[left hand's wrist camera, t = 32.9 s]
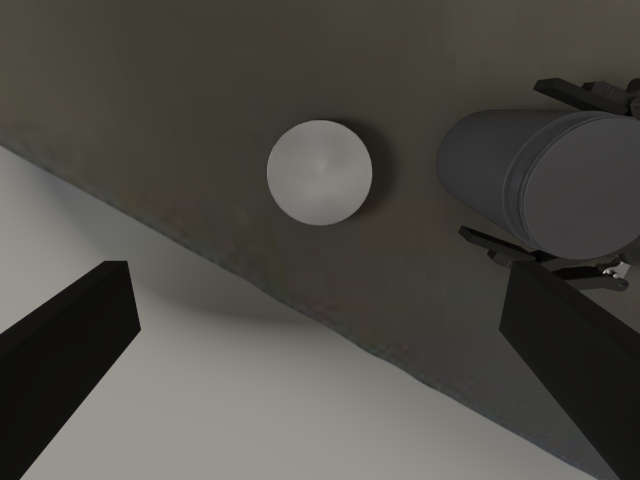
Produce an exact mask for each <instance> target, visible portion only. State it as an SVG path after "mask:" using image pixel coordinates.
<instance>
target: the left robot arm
mask: <svg viewBox="0 0 640 480" xmlns="http://www.w3.org/2000/svg"><path fill="white" fill-rule="evenodd" d="M140 331H141V327H140V322H139V317H138V313H137V307H136V303H135V297H134V293H133V287H132V283H131V278H130V273H129V268H128V263H127V261H104V262H102V263H101V264H100V265H98V266H97V267H95V268H94V269H92V270H91V271H89V272H88V273H87V274H85V275H84V276H82V277H81V278H80V279H78V280H77V281H75V282H74V283H72V284H71V285H70V286H68V287H67V288H65V289H64V290H62V291H61V292H60V293H58V294H57V295H55V296H54V297H52V298H51V299H50V300H48V301H47V302H45V303H44V304H43V305H41V306H40V307H38V308H37V309H35V310H34V311H33V312H31V313H30V314H28V315H27V316H25V317H24V318H23V319H21V320H20V321H18V322H17V323H15V324H14V325H13V326H11V327H10V328H8V329H7V330H6V331H4V332H3V333H1V334H0V480H20V478H21V477H22V476H23V475H24V474H25V472H26V471H27V470H28V469H29V467H30V466H31V465H32V464H33V462H34V461H35V460H36V459H37V458H38V456H39V455H40V454H41V453H42V451H43V450H44V449H45V448H46V446H47V445H48V444H49V443H50V442H51V440H52V439H53V438H54V437H55V435H56V434H57V433H58V432H59V430H60V429H61V428H62V427H63V425H64V424H65V423H66V422H67V421H68V419H69V418H70V417H71V416H72V414H73V413H74V412H75V411H76V409H77V408H78V407H79V406H80V404H81V403H82V402H83V401H84V400H85V398H86V397H87V396H88V395H89V393H90V392H91V391H92V390H93V388H94V387H95V386H96V385H97V384H98V382H99V381H100V380H101V379H102V377H103V376H104V375H105V374H106V372H107V371H108V370H109V369H110V368H111V366H112V365H113V364H114V363H115V361H116V360H117V359H118V358H119V356H120V355H121V354H122V353H123V352H124V350H125V349H126V348H127V347H128V345H129V344H130V343H131V342H132V340H133V339H134V338H135V337H136V335H137V334H138V333H139V332H140ZM499 331H500V332H501V333H502V334H503V336H504V337H505V338H506V339H507V340H508V342H509V343H510V344H511V345H512V347H513V348H514V349H515V350H516V352H517V353H518V354H519V355H520V356H521V358H522V359H523V360H524V361H525V363H526V364H527V365H528V366H529V368H530V369H531V370H532V371H533V373H534V374H535V375H536V376H537V377H538V379H539V380H540V381H541V382H542V384H543V385H544V386H545V387H546V389H547V390H548V391H549V392H550V393H551V395H552V396H553V397H554V398H555V400H556V401H557V402H558V403H559V405H560V406H561V407H562V408H563V409H564V411H565V412H566V413H567V414H568V416H569V417H570V418H571V419H572V421H573V422H574V423H575V424H576V425H577V427H578V428H579V429H580V430H581V432H582V433H583V434H584V435H585V437H586V438H587V439H588V440H589V442H590V443H591V444H592V445H593V446H594V448H595V449H596V450H597V451H598V453H599V454H600V455H601V456H602V458H603V459H604V460H605V461H606V462H607V464H608V465H609V466H610V467H611V469H612V470H613V471H614V472H615V474H616V475H617V476H618V477H619V478H620V480H640V334H639V333H637V332H636V331H634V330H633V329H632V328H630V327H629V326H627V325H626V324H625V323H623V322H622V321H620V320H619V319H617V318H616V317H615V316H613V315H612V314H610V313H609V312H607V311H606V310H605V309H603V308H602V307H600V306H599V305H597V304H596V303H595V302H593V301H592V300H590V299H589V298H588V297H586V296H585V295H583V294H582V293H580V292H579V291H578V290H576V289H575V288H573V287H572V286H570V285H569V284H568V283H566V282H565V281H563V280H562V279H561V278H559V277H558V276H556V275H555V274H553V273H552V272H551V271H549V270H548V269H546V268H545V267H543V266H542V265H541V264H539V263H538V262H536V261H513V263H512V268H511V273H510V278H509V283H508V287H507V292H506V297H505V302H504V307H503V312H502V317H501V322H500V327H499Z"/></svg>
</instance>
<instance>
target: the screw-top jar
mask: <svg viewBox="0 0 640 480" xmlns="http://www.w3.org/2000/svg"><path fill="white" fill-rule="evenodd" d="M437 170H438V175H439V178H440V181H441V183H442V185H443V186H444V188H445V189H446V190H447V191H448V192H449V193H450V194H451V195H452V196H454V197H455V198H456V199H458V200H460V201H461V202H463V203H464V204H466V205H467V206H469V207H470V208H472V209H473V210H475V211H476V212H478V213H479V214H481V215H482V216H484V217H486V218H487V219H489V220H490V221H492V222H493V223H495V224H496V225H498V226H499V227H501V228H502V229H504V230H505V231H507V232H509V233H510V234H512V235H513V236H515V237H516V238H518V239H519V240H521V241H522V242H524V243H525V244H527V245H529V246H531V247H533V248H535V249H538V250H541V251H544V252H547V253H549V254H552V255H554V256H557V257H563V258H568V259H590V258H596V257H600V256H603V255H607V254H609V253H612V252H614V251H616V250H618V249H620V248H622V247H624V246H626V245H627V244H629V243H630V242H632V241H633V240H634V239H636V238H637V237H638V236H639V235H640V120H638V119H635V118H634V117H628V116H620V115H614V114H612V113H607V112H603V111H540V110H487V111H480V112H476V113H473V114H471V115H469V116H467V117H465V118H463V119H462V120H460V121H459V122H458V123H457V124H455V125H454V126H453V127H452V129H451V130H450V131H449V132H448V133H447V135H446V136H445V138H444V140H443V142H442V144H441V146H440V149H439V153H438V158H437Z"/></svg>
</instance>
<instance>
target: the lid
mask: <svg viewBox="0 0 640 480" xmlns="http://www.w3.org/2000/svg"><path fill="white" fill-rule="evenodd" d="M267 179H268V184H269V188H270V191H271V193H272V196H273V198H274V199H275V201H276V203H277V204H278V205H279V207H280V208H281V209H282V210H283V211H284V212H285V213H286V214H288V215H289V216H290V217H292V218H294V219H295V220H298V221H300V222H302V223H306V224H310V225H320V226H321V225H330V224H334V223H337V222H340V221H342V220H344V219H346V218H348V217H349V216H351V215H352V214H353V213H354V212H355V211H357V210H358V208H359V207H360V206H361V205H362V203H363V202H364V201H365V199H366V197H367V195H368V193H369V190H370V187H371V182H372V162H371V159H370V156H369V153H368V151H367V147H366V146H365V145H364V143H363V142H362V141H361V139H360V138H359V137H358V136H357V134H356V133H354V132H353V131H351V130H350V129H348V128H347V127H345V126H344V124H340V123H337V122H334V121H330V120H328V119H327V120H322V119H317V120H312V119H311V120H310V121H305V122H303V123H300V124H298V125H297V124H296V125H295V126H294V127H293V128H291V129H290V130H288V131H287V132H286V133H284V134H282V137H281V138H280V139H279V140H278V141H277V143H276V144H275V146H274V147H273V150H272V152H271V154H270V157H269V161H268V168H267Z"/></svg>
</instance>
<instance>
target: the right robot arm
mask: <svg viewBox="0 0 640 480" xmlns="http://www.w3.org/2000/svg"><path fill="white" fill-rule="evenodd" d="M533 90H536V91H538V92H540V93H543V94H545V95H547V96H550V97H552V98H554V99H557V100H559V101H561V102H564V103H566V104H568V105H571V106H573V107H575V108H578V109H580V110H582V111H603V112H607V113H612V114H614V115H620V116H628V117H634V118H635V119H638V120H640V78H637V79H633V80H632V81H631V82H630V83H629V84H628V88H627V90H625V91H624V90H621V89H619V88H617V87H614V86H612V85H609V84H608V83H605V82H590V83H584V84H583V86H582V88H581V87H578V86H576V85H574V84H571V83H569V82H567V81H564V80H562V79H560V78H551V79H544V80H538V81H537V83H536V85H535V87H534V88H533ZM458 233H459V234H461V235H462V236H463V237H464V238H465V239H466V240H467V241H468V242H470V243H473V244H476V245H479V246H481V247H484V248H487V249H490V250H489V252H488V253H487V255H488V256H489V257H490V258H491V259H492V260H494V261H495V262H496V263H497V264H500V265H503V266H505V267H508V268H512V263H513V261H536V262H538V263H539V264H541V265H542V266H543V267H545V268H546V269H548V270H549V271H551V272H552V273H553V274H555V275H556V276H558V277H559V278H561V279H562V280H563V281H565V282H566V283H568V284H569V285H570V286H572V287H573V288H575V289H576V290H586V289H596V288H606V289H610V290H615V291H620V292H621V291H624V290H626V289H627V288H628V285H629V284H628V282H627V281H626V280H624V279H623V278H624V276H625V274H626V272H627V271H628V269H629V267H630V266H631V265H636V264H640V235H639V236H638V237H637V238H636V239H634V240H633V241H632V242H630V243H629V244H627V245H626V246H624V247H622V248H620V249H618V250H616V251H614V252H612V253H609V254H607V255H603V256H613V257H614V258H615V259H614V260H613V261H612V262H610V263H604V264H600V263H598V264H596V266H595V267H591V266H581V267H571V268H565V267H568V266H572V265H575V264H578V263H581V262H585V261H588V260H591V259H594V258H590V259H568V258H563V257H557V256H554V255H552V254H549V253H547V252H544V251H541V250H536V251H533V252H530V253H529V252H527V251H526V250H525V249H523V248H522V247H520V246H517V245H514V244H511V243H509V242H506V241H503V240H500V239H498V238H495V237H492V236H489V235H487V234H484V233H481V232H478V231H476V230H473V229H470V228H467V227H465V226H461V228H460V230H459V232H458ZM600 257H601V256H600ZM596 258H597V257H596Z"/></svg>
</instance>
